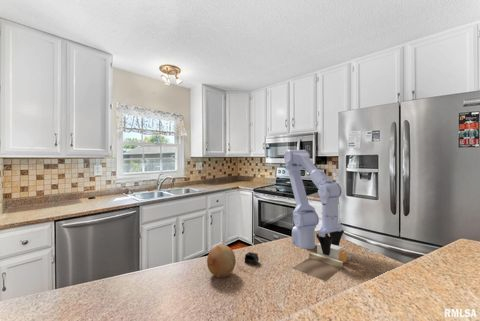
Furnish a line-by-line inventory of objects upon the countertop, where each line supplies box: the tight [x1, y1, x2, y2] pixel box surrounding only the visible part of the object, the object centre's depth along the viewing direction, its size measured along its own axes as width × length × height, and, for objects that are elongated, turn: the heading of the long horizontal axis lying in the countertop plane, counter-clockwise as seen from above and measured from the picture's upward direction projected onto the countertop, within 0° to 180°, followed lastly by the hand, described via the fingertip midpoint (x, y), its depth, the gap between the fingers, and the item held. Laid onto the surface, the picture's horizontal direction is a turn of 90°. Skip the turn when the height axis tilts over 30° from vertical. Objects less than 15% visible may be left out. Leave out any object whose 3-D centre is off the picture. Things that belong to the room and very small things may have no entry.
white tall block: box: [316, 242, 348, 263], centre depth 82 cm, size 10×4×5 cm, turn 43°
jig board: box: [292, 251, 353, 282], centre depth 79 cm, size 12×22×3 cm, turn 134°
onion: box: [206, 243, 237, 278], centre depth 74 cm, size 10×10×10 cm
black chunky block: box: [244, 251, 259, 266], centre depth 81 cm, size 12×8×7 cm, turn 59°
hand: (330, 251), depth 82 cm, fingers open, 7 cm apart
